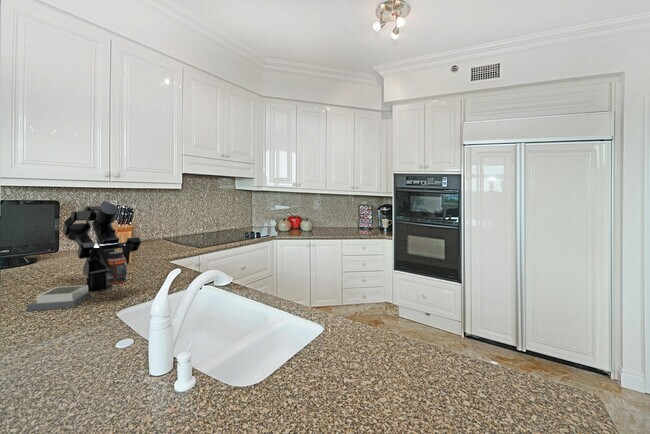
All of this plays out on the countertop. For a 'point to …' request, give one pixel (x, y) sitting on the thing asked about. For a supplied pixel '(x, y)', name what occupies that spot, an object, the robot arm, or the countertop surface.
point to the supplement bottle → (117, 268)
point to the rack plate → (60, 298)
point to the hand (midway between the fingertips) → (118, 265)
